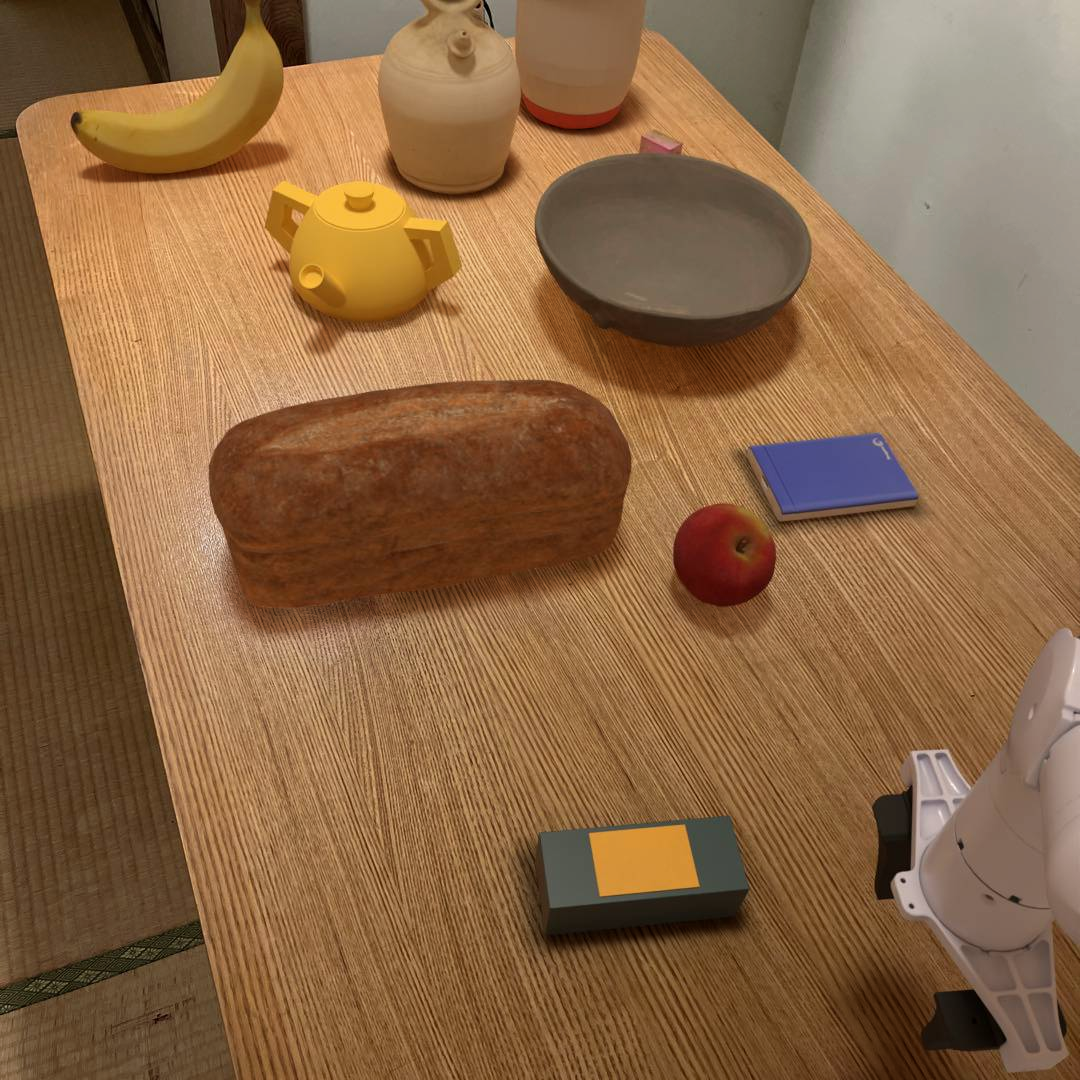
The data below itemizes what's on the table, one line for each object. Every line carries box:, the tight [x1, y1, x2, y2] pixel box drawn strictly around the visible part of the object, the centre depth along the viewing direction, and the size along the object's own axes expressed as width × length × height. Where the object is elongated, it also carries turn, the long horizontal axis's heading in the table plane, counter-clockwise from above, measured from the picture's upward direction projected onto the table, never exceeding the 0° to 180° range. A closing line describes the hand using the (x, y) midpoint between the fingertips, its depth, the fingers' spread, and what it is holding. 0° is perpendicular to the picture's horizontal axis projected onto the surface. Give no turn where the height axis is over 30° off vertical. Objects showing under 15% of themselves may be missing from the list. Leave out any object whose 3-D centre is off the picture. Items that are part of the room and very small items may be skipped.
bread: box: [208, 379, 633, 609], centre depth 81 cm, size 12×31×14 cm, turn 106°
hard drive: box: [746, 432, 919, 523], centre depth 93 cm, size 2×8×12 cm
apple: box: [672, 502, 777, 608], centre depth 81 cm, size 8×8×8 cm
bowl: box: [534, 152, 813, 348], centre depth 105 cm, size 26×26×10 cm
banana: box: [69, 0, 285, 174], centre depth 113 cm, size 23×6×20 cm, turn 109°
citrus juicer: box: [514, 0, 647, 130], centre depth 129 cm, size 16×17×20 cm
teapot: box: [264, 180, 463, 324], centre depth 102 cm, size 20×18×11 cm
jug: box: [377, 0, 522, 196], centre depth 115 cm, size 15×16×25 cm
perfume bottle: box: [638, 129, 684, 155], centre depth 123 cm, size 12×12×4 cm
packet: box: [534, 815, 750, 936], centre depth 66 cm, size 12×5×4 cm, turn 97°
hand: (916, 964), depth 56 cm, fingers open, 7 cm apart
